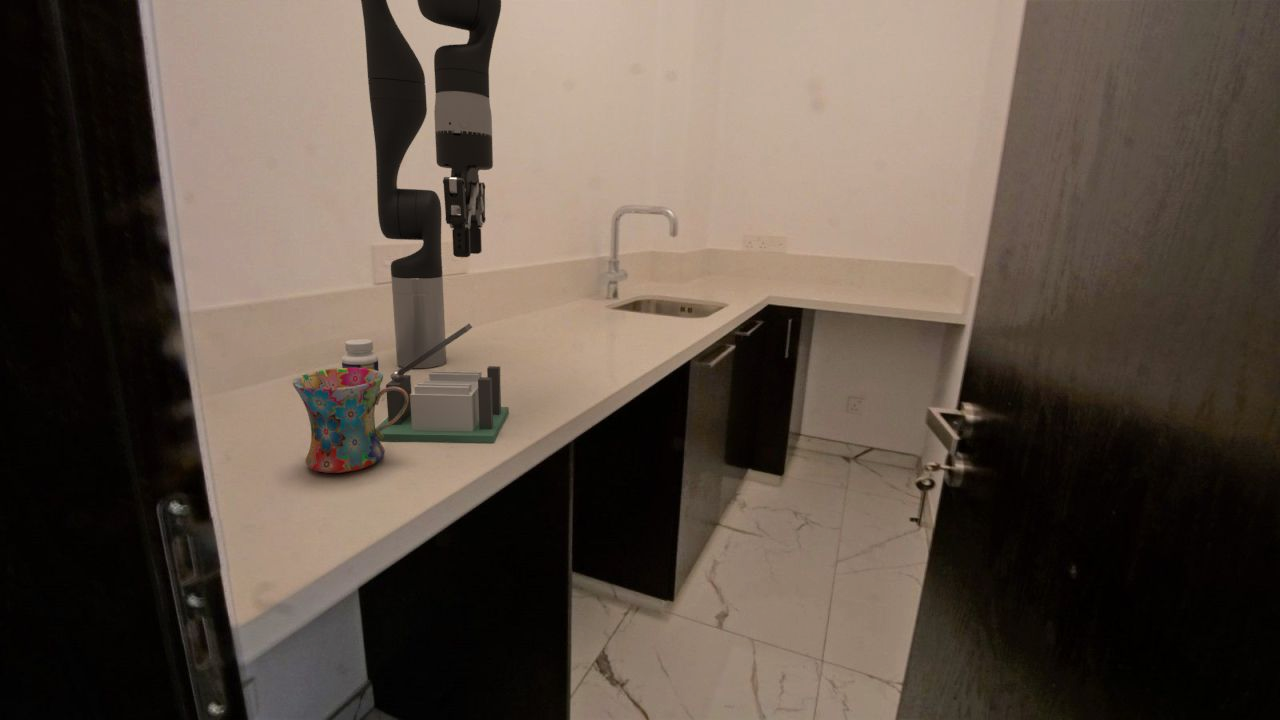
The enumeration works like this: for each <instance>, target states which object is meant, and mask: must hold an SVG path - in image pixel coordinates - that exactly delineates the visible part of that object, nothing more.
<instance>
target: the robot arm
mask: <svg viewBox="0 0 1280 720" xmlns="http://www.w3.org/2000/svg"><path fill="white" fill-rule="evenodd" d="M416 2H417V5H418V9H419V12H420V14H421V15H422V16H423V17H424V18H425V19H426V20H428V21H430V22H432V23H435V24H437V25H439V26H440V25H441V26H445V27H451V28H454V29H460V30H464V31H468V33H469V34H468V40H467V43H463V44H446V45H441V46H440V47H438V48H436V49H435V52H434V54H433V55H434V56H433V57H434V58H433V64H434V65H433V66H434V67H433V68H434V69H433V70H434V85H435V87H434V88H435V92H434V93H435V99H434V100H435V101H434V111H433V112H434V134H435V154H436V155H435V156H436V157H435V158H436V159H435V160H436V164H437V166H439V167H440V168H444V169H451V170H450V176H449V177H448V176H444V177H443V179H442V184H443V195H444V197H443V198H444V209H445V210H444V213H445V223H446V224H447V225H449V226H450V227H449V228H450V229H452V230H451V231H452V253H453V256H454V257H455V258H469V257H470V256H471V254H473V255H474V254H475V255H478V254H481V253H482V251H483V250H482V246H483V245H482V228H483V227H484V224H485V223H486V185H485V182H480V178H479V171H489V170H491V169H492V168H493V167H494V166H493V165H494V160H493V159H494V156H493V154H494V153H493V119H492V118H493V117H492V115H493V114H492V110H491V103H490V61H491V55H492V49H493V44H494V39H495V34H496V31H497V27H498V24H499V19H500V15H501V10H502V0H417V1H416ZM360 3H361V8H362V9H361V10H362V17H363V27H364V35H365V36H364V38H365V51H366V69H367V83H368V92H369V93H368V94H369V103H370V110H371V111H370V113H371V118H372V120H371V121H372V126H373V136H374V146H375V161H376V162H375V163H376V192H377V213H378V214H377V216H378V223H379V227H380V230H381V233H382V235H383V237H384V238H386V239H387V240H401V241H403V240H408V241H422V242H423V243H422V246H421V248H420V249H418V250H417V251H415V252H414V253H412V254H409V255H407V256H403V257H400V258H397V259H394V260H393V261H391V263H390V275H391V277H390V278H391V292H392V306H393V320H394V334H395V335H394V336H395V337H394V338H395V352H396V353H395V354H396V364H397V366H399V367H400V368H403V367H405V366H406V365H408V364H409V363H411V362H412V361H414V360H415V359H417V358H418V357H420V356H421V355H423V354H424V353H426V352H427V351H429V350H430V349H432V348H433V347H435V346H436V345H438V344H439V343H441V342H442V341H444V340H445V339H446V326H445V325H446V323H445V322H446V321H445V303H444V301H445V300H444V299H445V298H444V297H445V296H444V279H443V263H442V261H443V260H442V258H443V257H442V205H441V199H440V197H439V194H438V193H437V192H436V191H434V190H430V189H416V188H415V189H413V188H398V176H399V175H398V174H399V171H400V167H401V165H402V163H403V160H404V158H405V155H406V153H407V152H408V150H409V148H410V146H411V144H412V143H413V142H414V140H415V138H416V136H417V135H418V133H419V132H420V130H421V128H422V126H423V124H424V122H425V121H426V120H425V119H426V116H427V113H428V111H427V109H428V107H427V106H428V105H427V104H428V103H427V92H426V91H427V89H426V77H425V72H424V69H423V67H422V64H421V62H420V61H419V59H418V57H417V55H416V53H415V51H414V50H413V48H412V47H411V45H410V43H409V42H408V41H407V39H406V38H405V36H404V34H403V32H402V31H401V30H400V28H399V26H398V24H397V22H396V21H395V19H394V17H393V15H392V12H391V10H390V7H389V4H388V1H387V0H360ZM446 347H447V345H446V346H445V347H443V348H442V349H440V350H439V351H437V352H436V353H434V354H433V355H431V356H430V357H428V358H427V359H425V360H424V361H422V362H421V363H419V364H418V365H416V366H415V367H413V368H412V369H427V368H435V367H439V366H442V365H444V364H446V363H447V350H446V349H447V348H446Z"/></svg>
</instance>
